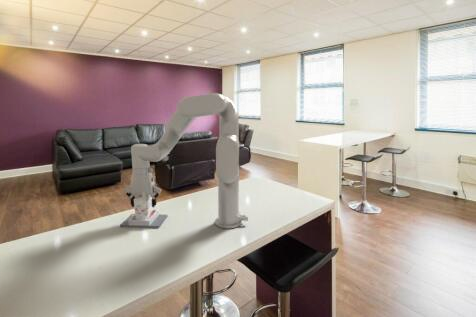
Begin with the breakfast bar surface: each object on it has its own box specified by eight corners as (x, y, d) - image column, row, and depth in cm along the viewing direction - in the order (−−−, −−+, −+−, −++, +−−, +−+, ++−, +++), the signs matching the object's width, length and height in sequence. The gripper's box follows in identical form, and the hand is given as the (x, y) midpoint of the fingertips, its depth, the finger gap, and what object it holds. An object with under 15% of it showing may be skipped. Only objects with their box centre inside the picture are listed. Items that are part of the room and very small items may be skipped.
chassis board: (167, 216, 136) (167, 209, 136) (158, 228, 124) (158, 220, 123) (132, 215, 137) (131, 209, 136) (119, 227, 124) (119, 219, 124)
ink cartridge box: (143, 215, 135) (141, 187, 132) (153, 216, 134) (151, 187, 131) (135, 223, 126) (132, 192, 123) (145, 223, 126) (143, 193, 123)
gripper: (162, 169, 129) (164, 203, 132) (126, 168, 130) (129, 202, 133) (157, 173, 121) (159, 209, 125) (119, 172, 122) (122, 208, 126)
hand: (143, 206), depth 129 cm, fingers open, 9 cm apart
